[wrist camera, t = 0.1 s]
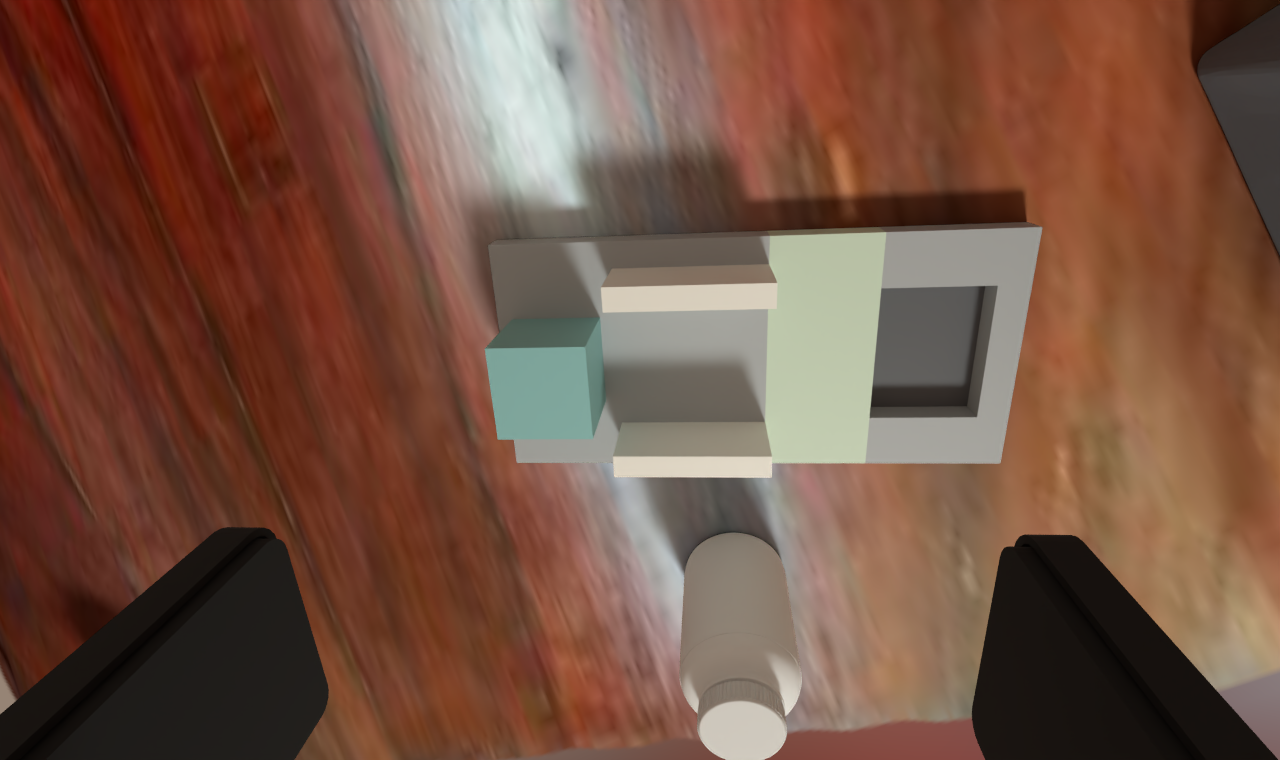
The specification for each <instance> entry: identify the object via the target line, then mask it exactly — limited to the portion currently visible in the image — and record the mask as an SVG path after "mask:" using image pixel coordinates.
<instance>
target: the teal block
mask: <svg viewBox="0 0 1280 760" xmlns="http://www.w3.org/2000/svg"><path fill="white" fill-rule="evenodd" d="M485 353H486V360H487V367H488V374H489V381H490V388H491V395H492V402H493V409H494V416H495V423H496V430H497V437H498V440H502V439H593V438H594V435H595V432H596V429H597V426H598V423H599V420H600V417H601V414H602V411H603V408H604V405H605V402H606V391H605V377H604V363H603V350H602V336H601V322H600V317H594V318H547V319H512V320H511V321H510V322H509V323H508V324H507V325H506V326H505V327H504V329H503V330H502V331H501V332H500V333H499V334H498V335H497V336H496V337H495V338H494V339H493V340H492V341H491V343H490V344H489V345H488V346H487V347H486V348H485Z"/></svg>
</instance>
